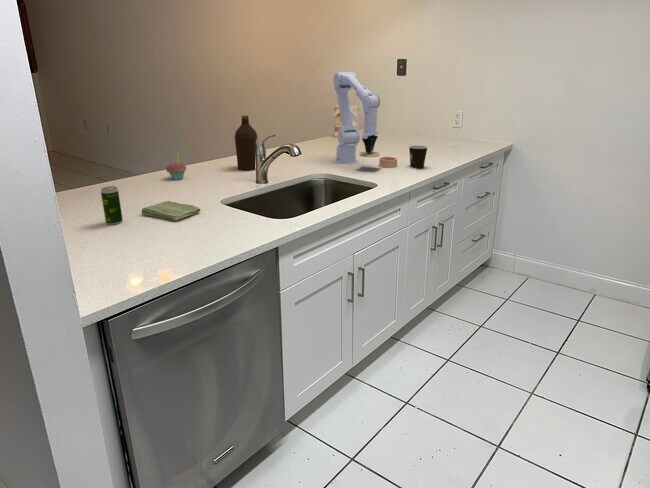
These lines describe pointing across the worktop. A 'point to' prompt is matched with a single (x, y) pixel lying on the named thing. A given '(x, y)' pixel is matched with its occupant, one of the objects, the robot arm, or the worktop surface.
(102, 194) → the beer can
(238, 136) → the olive oil
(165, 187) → the worktop surface
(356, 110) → the coffeecake box
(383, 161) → the bowl
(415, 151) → the coffee mug
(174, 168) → the cupcake
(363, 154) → the lid
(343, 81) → the robot arm
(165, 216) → the washcloth
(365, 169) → the mat
